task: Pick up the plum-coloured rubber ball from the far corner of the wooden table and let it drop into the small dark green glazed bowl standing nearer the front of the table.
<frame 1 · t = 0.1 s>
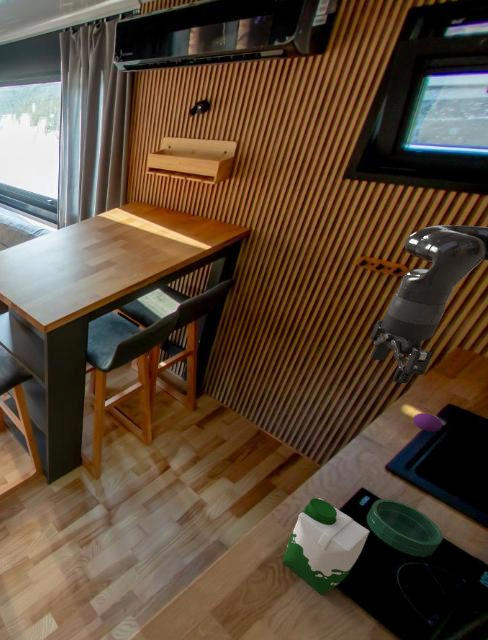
hand: (387, 370, 87), 32 cm above the worktop, tool pointing down, fingers open, 8 cm apart
bowl: (397, 534, 84), on the worktop
milk carton: (310, 570, 81), on the worktop
ball: (427, 422, 104), point 2 cm above the worktop
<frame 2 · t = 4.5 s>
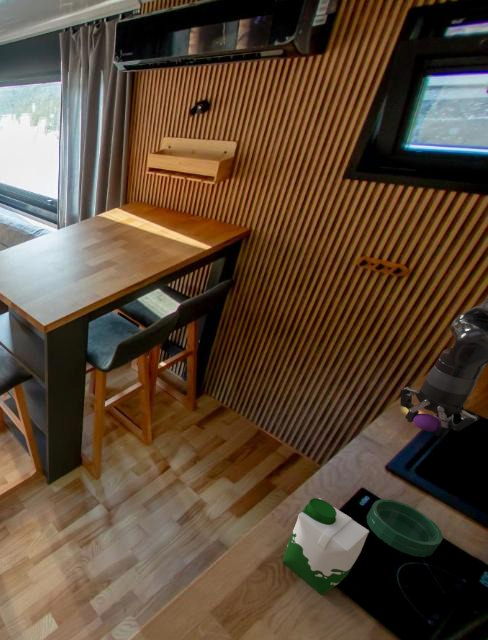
hand: (424, 427, 105), 0 cm above the worktop, tool pointing down, fingers closed on ball, 5 cm apart
ball: (427, 422, 104), point 2 cm above the worktop, touching gripper
everything else where it was.
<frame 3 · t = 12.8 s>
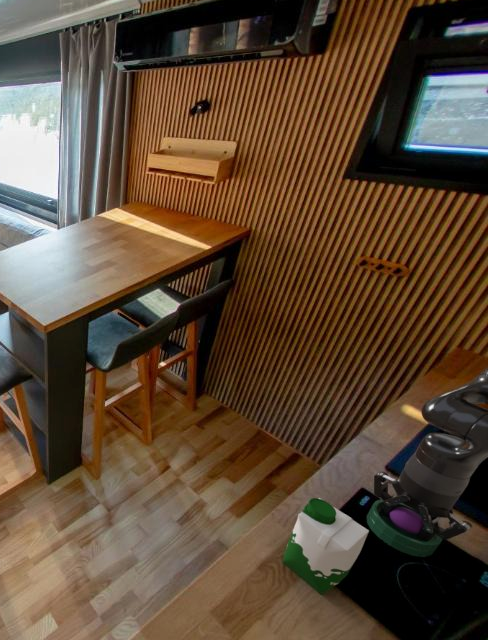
hand: (403, 525, 82), 4 cm above the worktop, tool pointing down, fingers closed on ball, 5 cm apart
ball: (407, 520, 81), point 6 cm above the worktop, touching gripper
everything else where it was.
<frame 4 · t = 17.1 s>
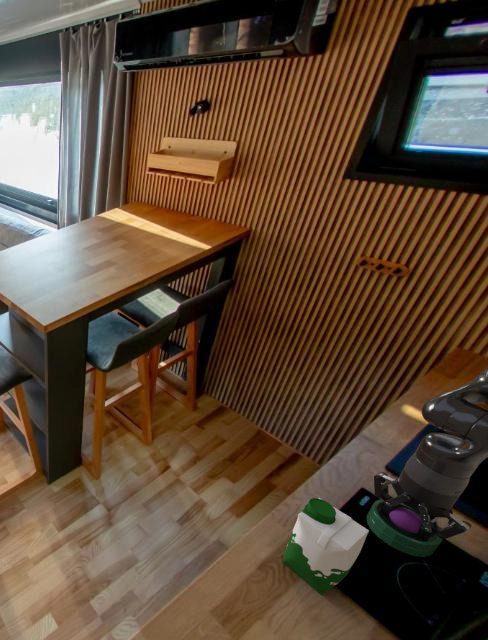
hand: (403, 525, 82), 4 cm above the worktop, tool pointing down, fingers closed on ball, 4 cm apart
ball: (406, 520, 81), point 6 cm above the worktop, touching gripper
everything else where it was.
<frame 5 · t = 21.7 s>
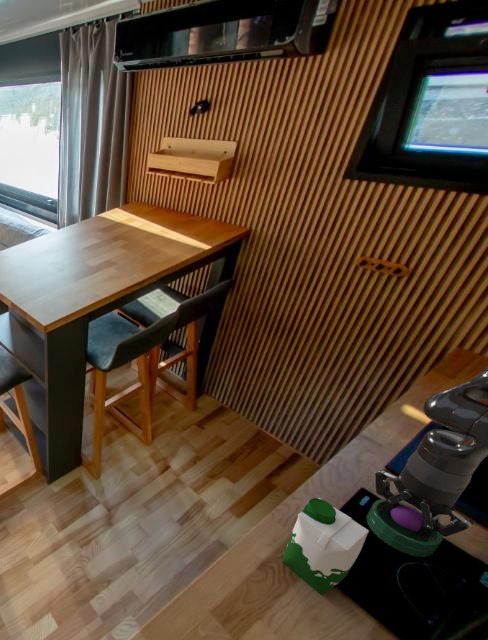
hand: (404, 523, 82), 5 cm above the worktop, tool pointing down, fingers closed on ball, 4 cm apart
ball: (408, 517, 81), point 7 cm above the worktop, touching gripper
everything else where it was.
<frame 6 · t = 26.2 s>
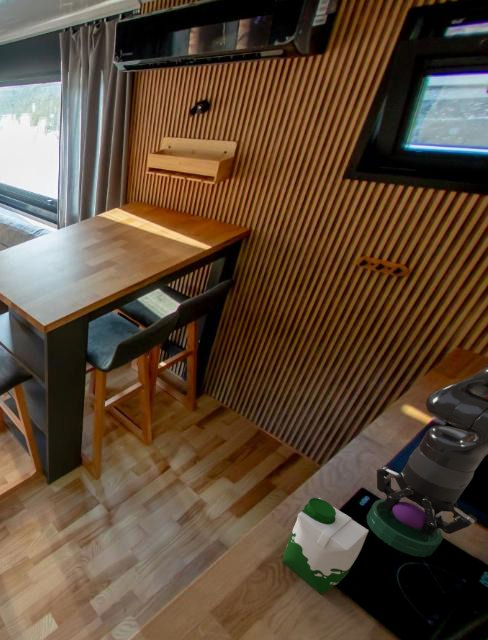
hand: (406, 520, 81), 6 cm above the worktop, tool pointing down, fingers closed on ball, 5 cm apart
ball: (410, 514, 80), point 8 cm above the worktop, touching gripper
everything else where it was.
when the fingers open (6 cm above the worktop, at t = 30.3 s): ball drops 5 cm, resting on bowl.
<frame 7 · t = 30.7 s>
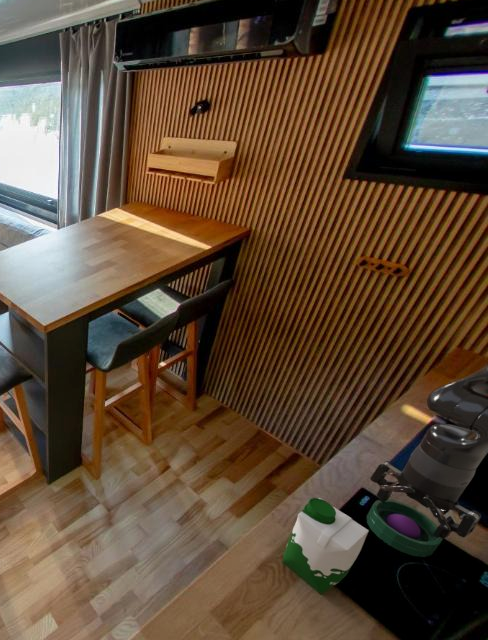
hand: (408, 516, 81), 7 cm above the worktop, tool pointing down, fingers open, 8 cm apart
ball: (402, 526, 82), point 3 cm above the worktop, touching bowl
everything else where it was.
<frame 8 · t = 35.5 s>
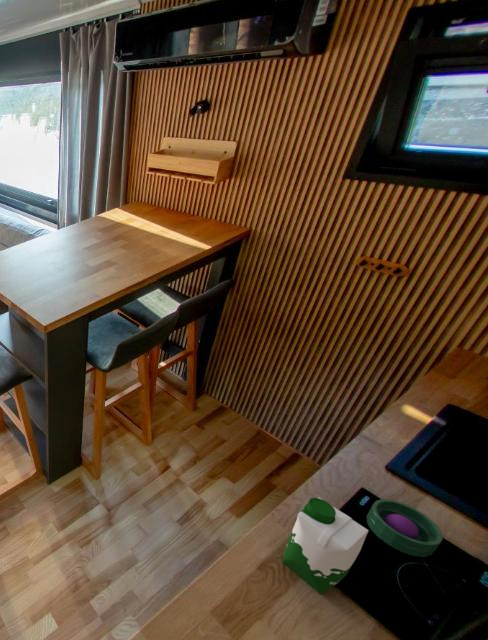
ball: (401, 526, 82), point 3 cm above the worktop, tilted 8°, touching bowl
everything else where it was.
at the end: ball 0.3 cm off-centre in the bowl, point 3.3 cm above the bowl's base; the gripper is holding nothing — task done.
